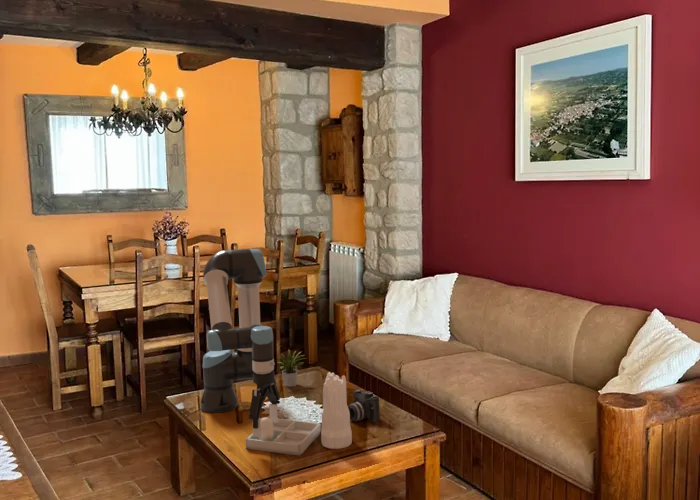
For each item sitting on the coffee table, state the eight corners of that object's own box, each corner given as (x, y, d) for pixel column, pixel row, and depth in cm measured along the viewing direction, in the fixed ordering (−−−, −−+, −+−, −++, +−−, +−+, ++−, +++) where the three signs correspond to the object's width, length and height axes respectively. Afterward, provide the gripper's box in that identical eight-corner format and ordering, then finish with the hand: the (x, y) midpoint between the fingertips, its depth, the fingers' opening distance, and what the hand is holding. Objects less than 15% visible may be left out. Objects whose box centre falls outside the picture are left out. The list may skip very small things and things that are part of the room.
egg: (255, 443, 235) (254, 419, 234) (262, 437, 240) (261, 414, 239) (269, 445, 233) (269, 421, 232) (276, 439, 239) (275, 415, 237)
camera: (338, 416, 262) (338, 391, 261) (360, 409, 269) (360, 385, 267) (360, 427, 251) (360, 401, 249) (383, 420, 257) (382, 395, 256)
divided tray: (246, 448, 234) (245, 439, 233) (270, 426, 253) (270, 417, 252) (299, 455, 227) (299, 445, 227) (321, 432, 246) (321, 423, 246)
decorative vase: (355, 446, 234) (353, 377, 230) (325, 450, 231) (323, 380, 227) (346, 434, 244) (345, 368, 241) (318, 438, 241) (316, 371, 238)
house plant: (292, 393, 289) (290, 356, 287) (267, 387, 297) (266, 352, 294) (311, 383, 301) (310, 348, 299) (287, 378, 308) (286, 344, 306)
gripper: (257, 383, 221) (259, 444, 223) (287, 361, 244) (289, 416, 247) (236, 381, 223) (239, 441, 226) (269, 359, 246) (271, 414, 249)
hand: (265, 428), depth 236 cm, fingers open, 13 cm apart
